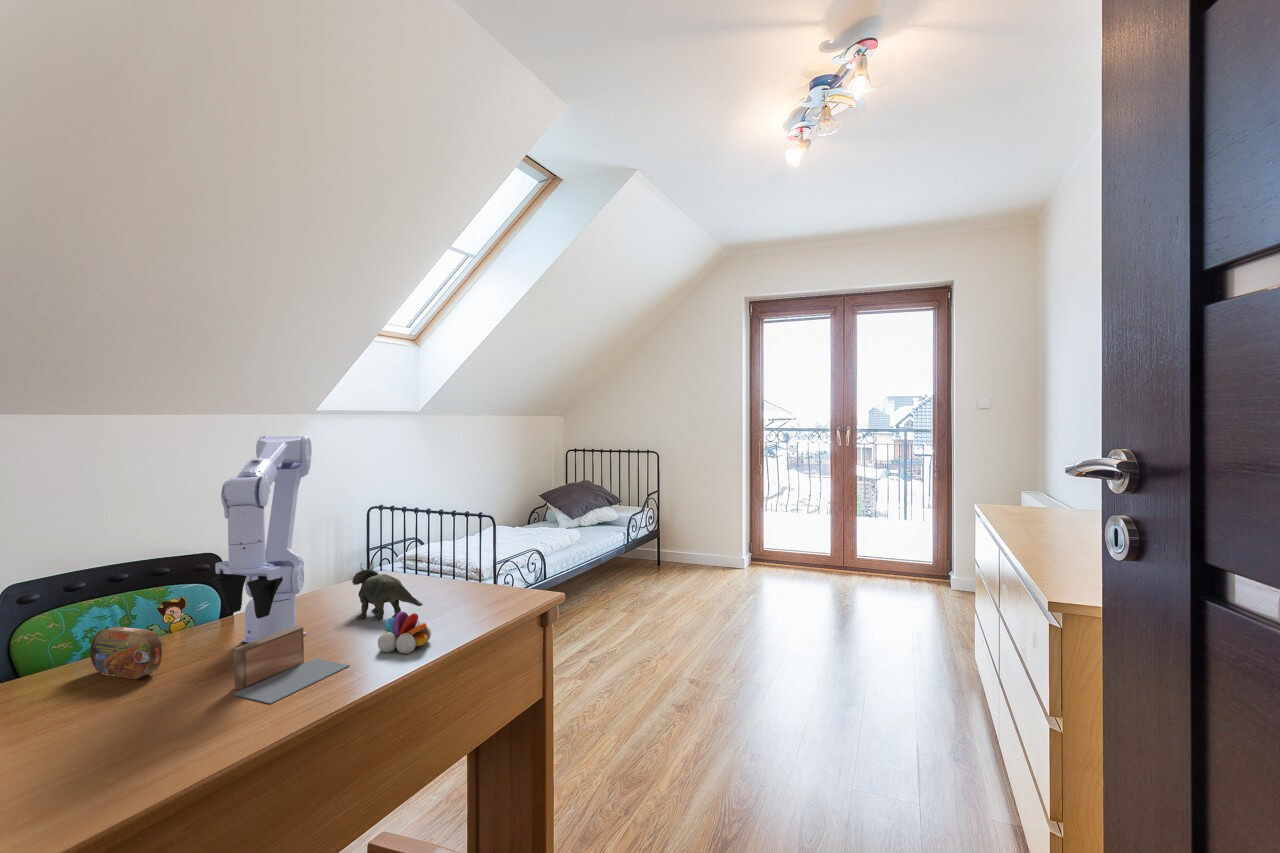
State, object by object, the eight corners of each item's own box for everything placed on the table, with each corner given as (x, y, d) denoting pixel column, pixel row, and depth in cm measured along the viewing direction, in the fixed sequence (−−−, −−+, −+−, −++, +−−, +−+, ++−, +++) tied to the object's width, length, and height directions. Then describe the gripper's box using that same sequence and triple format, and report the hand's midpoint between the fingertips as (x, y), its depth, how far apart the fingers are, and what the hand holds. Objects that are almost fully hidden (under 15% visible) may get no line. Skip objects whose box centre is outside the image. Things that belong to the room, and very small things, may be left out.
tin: (88, 673, 112) (87, 628, 112) (107, 666, 115) (106, 622, 115) (148, 682, 108) (147, 635, 107) (166, 675, 111) (165, 629, 110)
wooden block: (234, 688, 105) (233, 648, 105) (296, 662, 116) (295, 626, 116) (243, 690, 104) (242, 650, 104) (304, 663, 115) (304, 627, 115)
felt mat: (232, 695, 102) (232, 694, 102) (314, 659, 117) (314, 658, 117) (270, 704, 99) (270, 702, 99) (349, 666, 114) (349, 664, 114)
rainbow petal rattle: (414, 657, 118) (414, 620, 118) (370, 654, 120) (369, 617, 120) (437, 641, 126) (437, 607, 126) (395, 638, 128) (395, 604, 128)
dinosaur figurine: (427, 619, 140) (426, 571, 140) (395, 630, 133) (394, 579, 132) (369, 604, 152) (369, 559, 151) (337, 613, 144) (336, 567, 144)
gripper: (198, 543, 111) (199, 616, 111) (253, 548, 106) (255, 625, 106) (235, 535, 117) (237, 605, 118) (290, 540, 112) (291, 613, 113)
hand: (248, 614), depth 112 cm, fingers open, 7 cm apart
